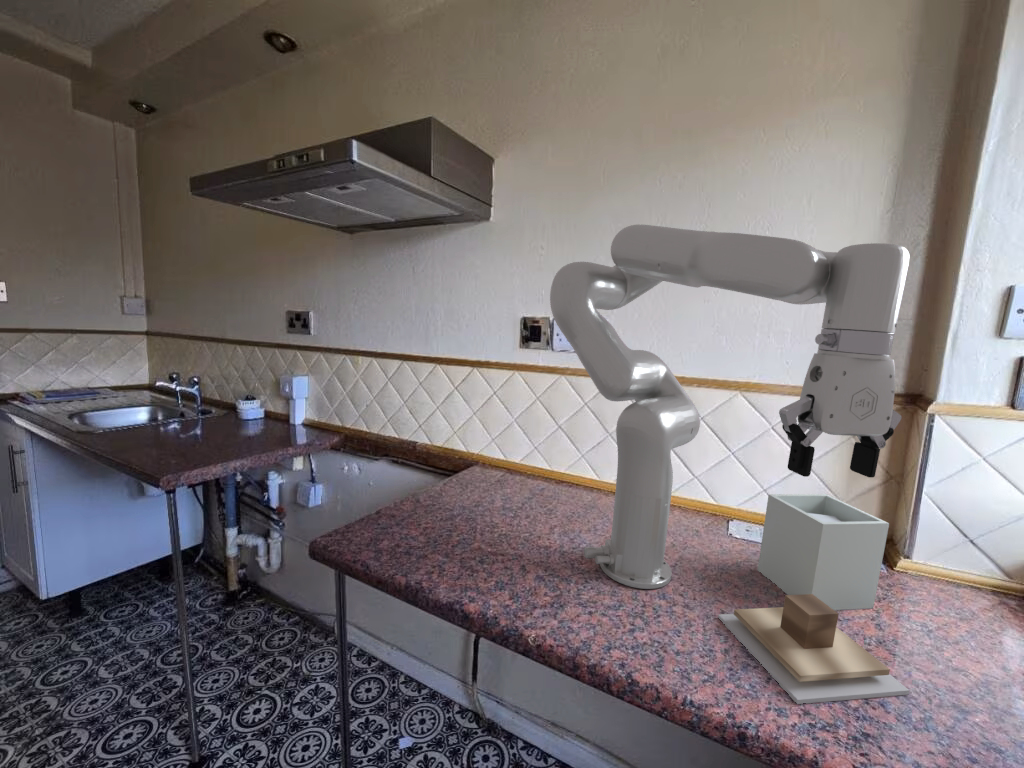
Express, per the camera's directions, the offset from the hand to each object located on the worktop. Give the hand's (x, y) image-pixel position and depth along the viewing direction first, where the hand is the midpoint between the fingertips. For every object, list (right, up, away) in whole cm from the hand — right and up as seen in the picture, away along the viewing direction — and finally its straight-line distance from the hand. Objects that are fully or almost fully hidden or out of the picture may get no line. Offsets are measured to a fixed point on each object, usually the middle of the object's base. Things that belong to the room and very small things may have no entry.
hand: (830, 473), depth 61 cm
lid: (-1, -25, +3) cm, 26 cm away
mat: (-1, -26, +3) cm, 26 cm away
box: (+11, -24, +20) cm, 33 cm away
